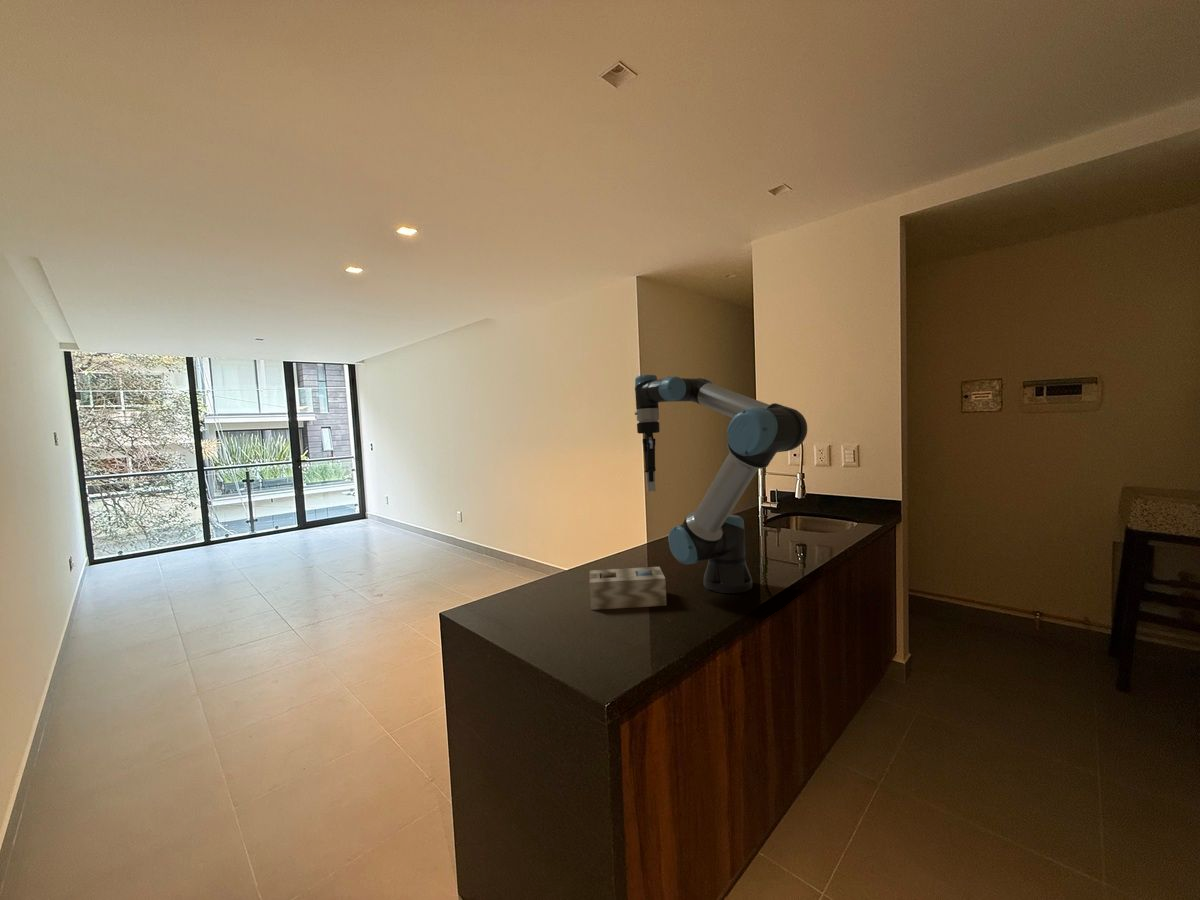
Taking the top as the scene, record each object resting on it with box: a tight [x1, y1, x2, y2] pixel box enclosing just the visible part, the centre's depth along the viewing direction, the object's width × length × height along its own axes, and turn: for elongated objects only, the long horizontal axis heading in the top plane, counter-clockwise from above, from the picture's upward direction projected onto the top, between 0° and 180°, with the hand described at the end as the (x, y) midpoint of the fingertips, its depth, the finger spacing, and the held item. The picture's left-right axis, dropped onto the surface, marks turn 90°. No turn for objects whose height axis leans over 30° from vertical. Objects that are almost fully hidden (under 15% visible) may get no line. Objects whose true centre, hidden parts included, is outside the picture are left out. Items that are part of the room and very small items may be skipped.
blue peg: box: [638, 570, 651, 576], centre depth 144 cm, size 4×4×8 cm
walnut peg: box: [601, 572, 615, 578], centre depth 144 cm, size 4×4×8 cm
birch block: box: [589, 566, 668, 611], centre depth 144 cm, size 22×12×8 cm, turn 91°
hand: (651, 490), depth 161 cm, fingers closed
